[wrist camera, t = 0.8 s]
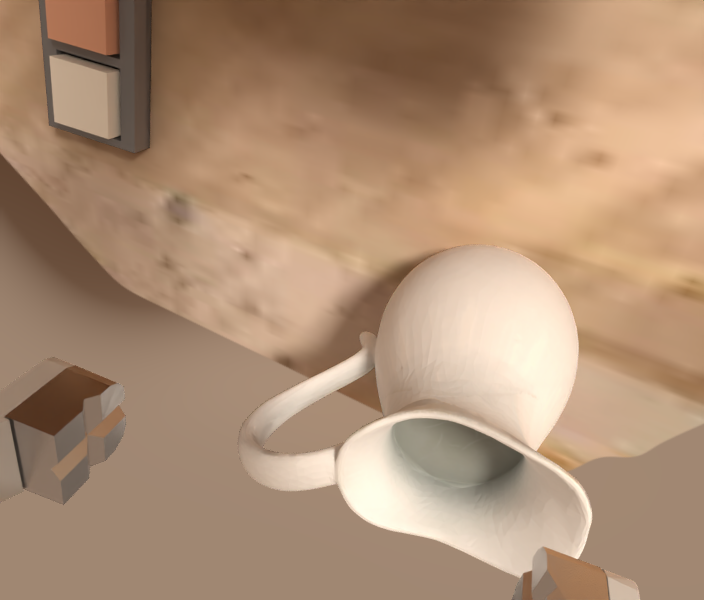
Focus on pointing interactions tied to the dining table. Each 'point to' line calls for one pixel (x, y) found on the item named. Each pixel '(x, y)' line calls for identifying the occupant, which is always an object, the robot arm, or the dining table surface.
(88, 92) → the key offwhite
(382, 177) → the dining table surface
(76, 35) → the key terracotta
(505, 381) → the pitcher
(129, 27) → the keypad
